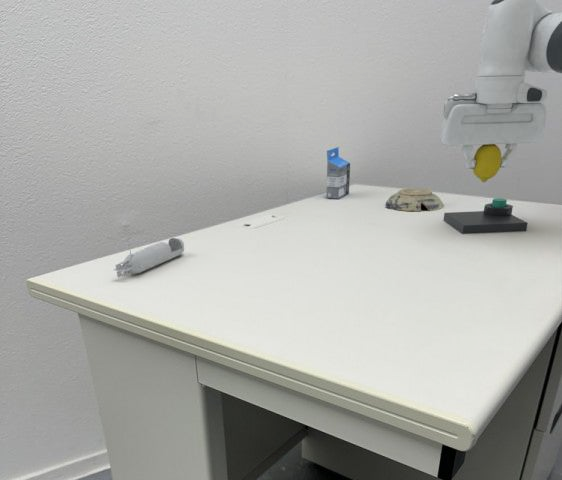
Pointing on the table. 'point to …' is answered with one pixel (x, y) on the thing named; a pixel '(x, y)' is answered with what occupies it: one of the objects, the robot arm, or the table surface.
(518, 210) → the table surface
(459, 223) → the dark grey button base
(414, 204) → the decorative bowl
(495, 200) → the scale button
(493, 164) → the lemon
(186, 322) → the table surface
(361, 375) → the table surface
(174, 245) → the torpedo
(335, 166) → the ink cartridge box
